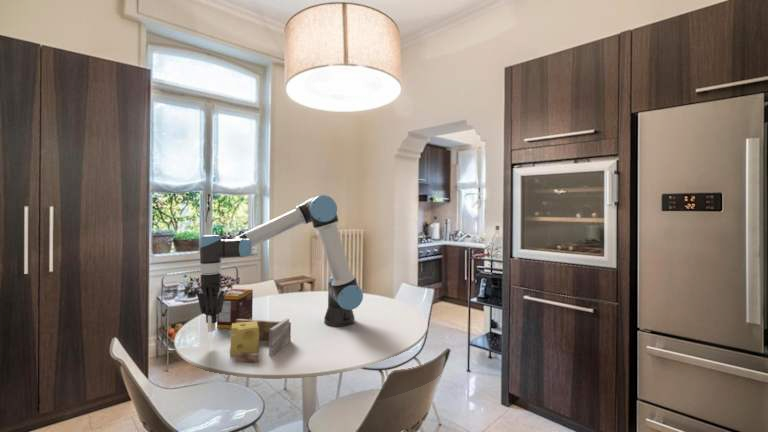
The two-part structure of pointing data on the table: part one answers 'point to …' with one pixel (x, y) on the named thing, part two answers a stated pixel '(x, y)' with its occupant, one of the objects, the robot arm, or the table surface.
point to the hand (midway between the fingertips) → (211, 330)
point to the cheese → (244, 337)
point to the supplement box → (235, 307)
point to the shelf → (268, 338)
